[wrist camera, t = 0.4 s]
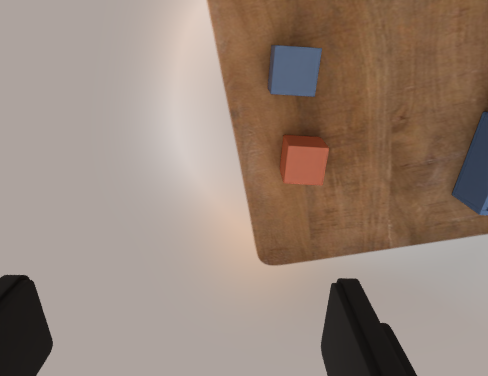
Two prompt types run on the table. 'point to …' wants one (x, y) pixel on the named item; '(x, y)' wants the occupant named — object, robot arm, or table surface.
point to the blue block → (293, 70)
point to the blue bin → (475, 172)
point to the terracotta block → (303, 160)
